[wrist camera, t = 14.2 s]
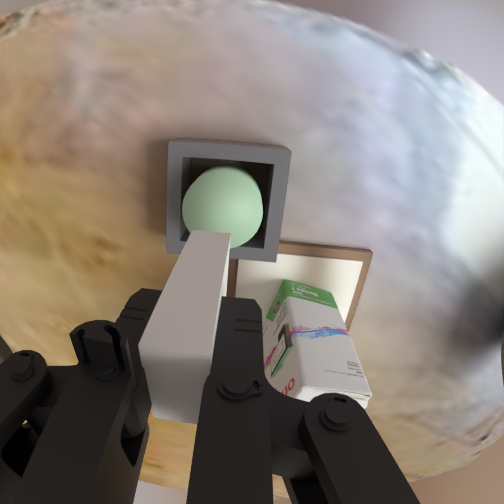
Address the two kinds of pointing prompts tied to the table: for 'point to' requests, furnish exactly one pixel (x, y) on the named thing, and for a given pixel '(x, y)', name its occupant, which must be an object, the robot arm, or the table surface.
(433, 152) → the table surface
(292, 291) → the ink box
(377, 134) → the table surface
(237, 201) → the button
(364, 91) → the table surface
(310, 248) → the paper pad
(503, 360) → the bowl
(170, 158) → the button housing
